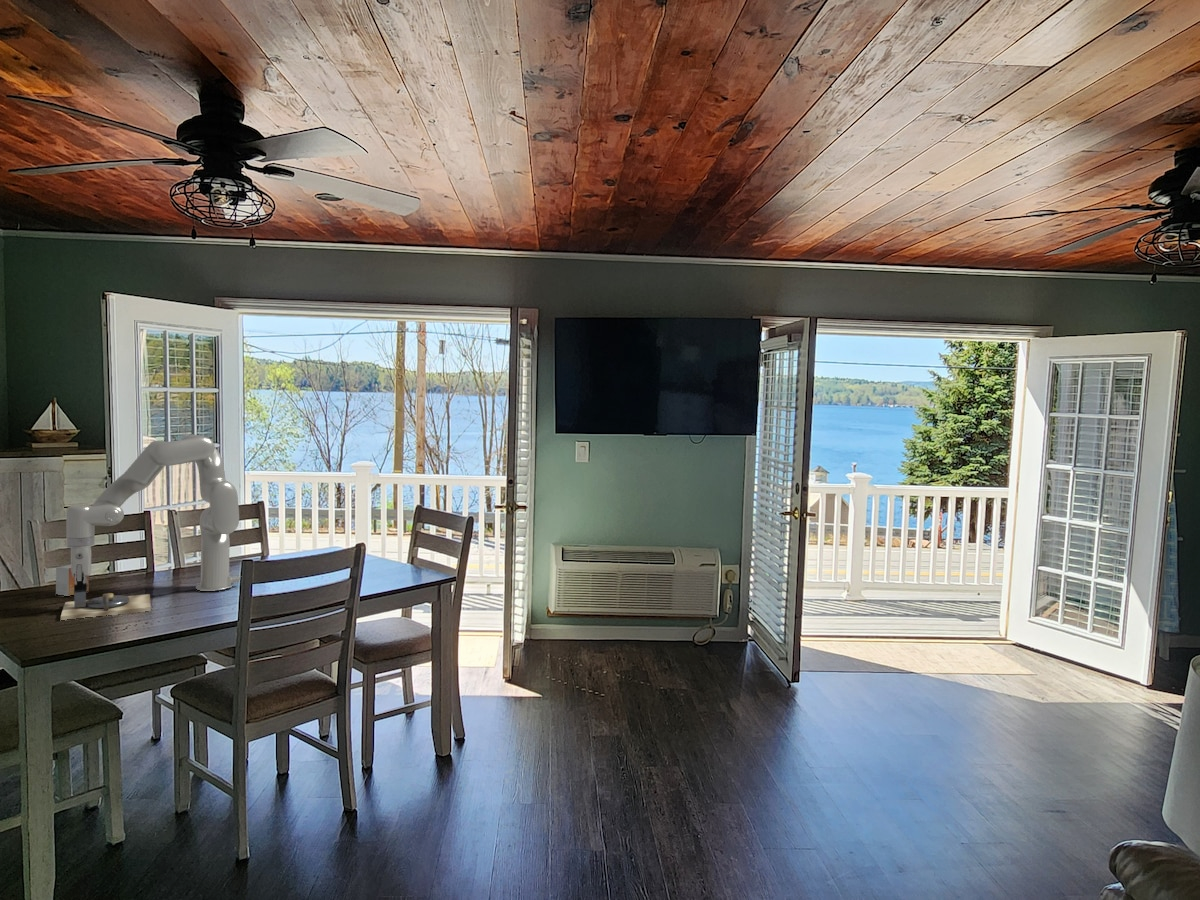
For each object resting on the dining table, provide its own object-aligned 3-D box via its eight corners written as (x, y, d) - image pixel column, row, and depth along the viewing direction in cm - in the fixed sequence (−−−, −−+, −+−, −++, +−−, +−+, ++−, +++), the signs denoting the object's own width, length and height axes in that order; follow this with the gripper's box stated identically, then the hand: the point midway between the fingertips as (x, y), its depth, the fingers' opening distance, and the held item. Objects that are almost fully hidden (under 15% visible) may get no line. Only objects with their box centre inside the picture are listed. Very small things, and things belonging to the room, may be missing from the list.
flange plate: (128, 596, 240) (128, 582, 240) (130, 605, 230) (130, 590, 230) (74, 602, 231) (74, 587, 231) (74, 611, 221) (74, 596, 221)
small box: (68, 597, 242) (68, 568, 242) (55, 596, 244) (55, 566, 243) (89, 592, 250) (89, 563, 250) (76, 590, 251) (76, 562, 251)
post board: (149, 598, 246) (149, 580, 246) (150, 611, 231) (150, 592, 231) (65, 606, 232) (65, 587, 232) (60, 621, 218) (60, 600, 217)
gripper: (93, 545, 225) (92, 600, 226) (95, 537, 237) (95, 589, 238) (64, 546, 221) (64, 602, 222) (68, 538, 233) (68, 591, 234)
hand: (80, 595), depth 230 cm, fingers closed
